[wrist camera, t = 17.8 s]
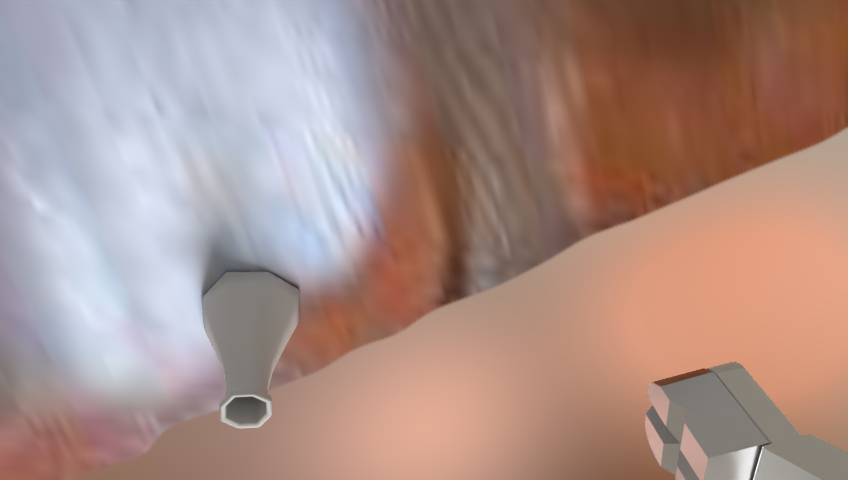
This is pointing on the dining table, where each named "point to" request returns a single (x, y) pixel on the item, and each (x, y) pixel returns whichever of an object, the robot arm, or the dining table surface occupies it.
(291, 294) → the flask
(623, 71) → the dining table surface
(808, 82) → the dining table surface
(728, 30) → the dining table surface
